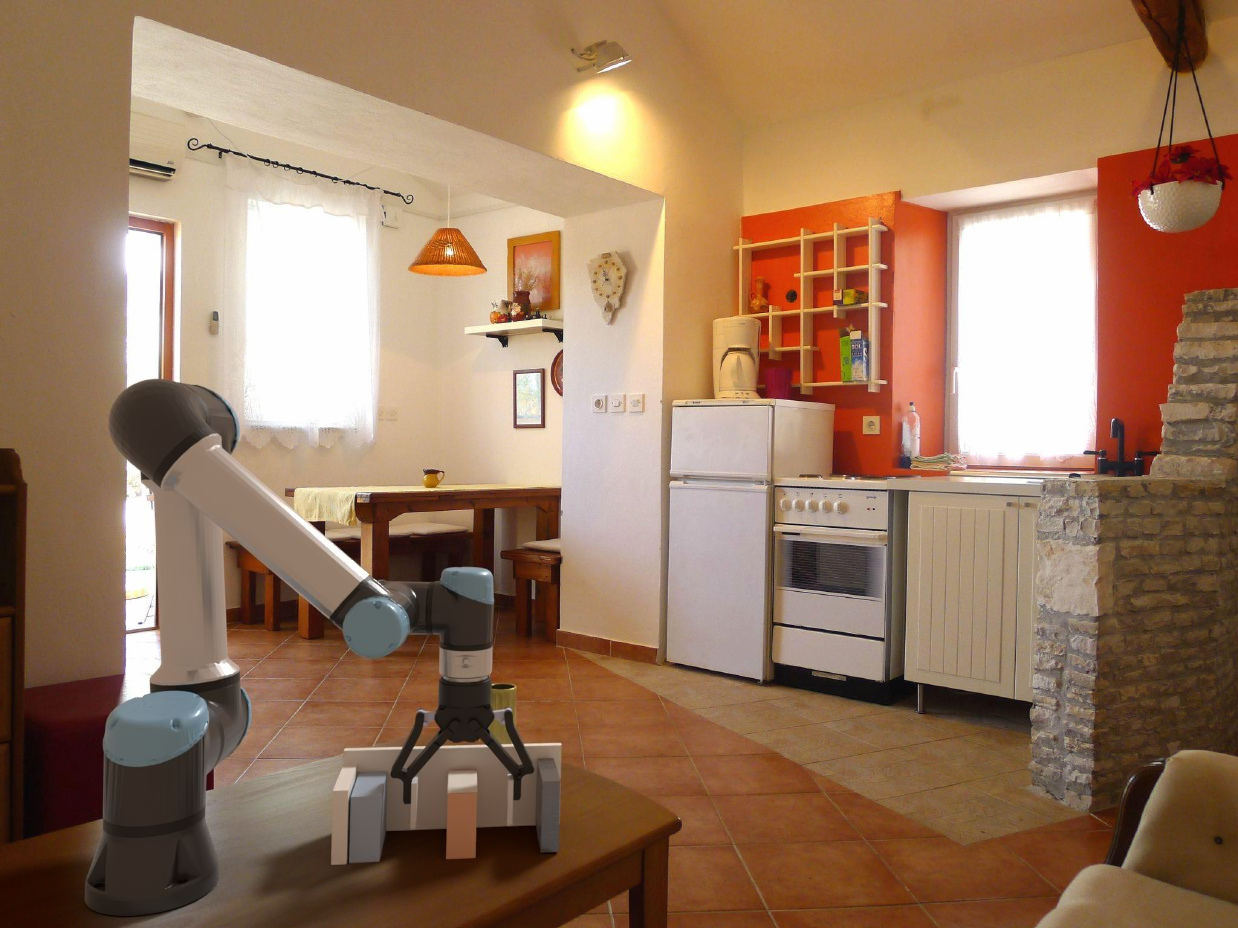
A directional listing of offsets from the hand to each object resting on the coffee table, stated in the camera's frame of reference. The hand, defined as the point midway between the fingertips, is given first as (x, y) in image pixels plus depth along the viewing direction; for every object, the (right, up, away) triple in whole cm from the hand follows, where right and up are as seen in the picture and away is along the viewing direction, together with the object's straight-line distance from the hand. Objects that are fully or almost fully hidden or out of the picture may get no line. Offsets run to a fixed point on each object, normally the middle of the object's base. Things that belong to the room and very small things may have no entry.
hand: (461, 823), depth 133 cm
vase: (+1, -3, +34) cm, 34 cm away
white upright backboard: (-1, -3, 0) cm, 3 cm away
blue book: (-13, -2, -2) cm, 13 cm away
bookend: (+12, -3, +2) cm, 12 cm away
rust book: (0, -3, 0) cm, 3 cm away
